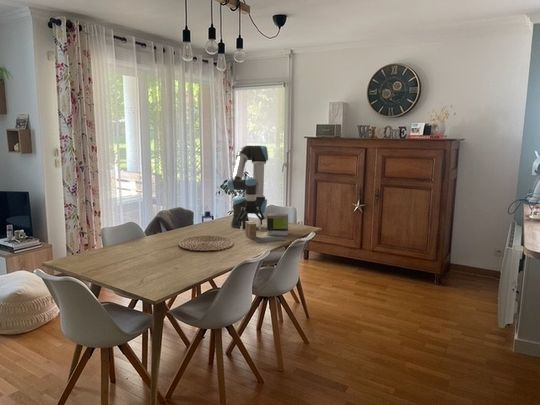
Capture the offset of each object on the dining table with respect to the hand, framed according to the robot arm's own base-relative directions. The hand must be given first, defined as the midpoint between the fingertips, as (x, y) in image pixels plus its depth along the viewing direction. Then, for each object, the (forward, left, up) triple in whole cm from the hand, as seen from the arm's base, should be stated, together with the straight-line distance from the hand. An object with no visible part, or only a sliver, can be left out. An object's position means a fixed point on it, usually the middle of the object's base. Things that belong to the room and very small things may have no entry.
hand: (250, 229), depth 281 cm
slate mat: (+11, +10, -6) cm, 16 cm away
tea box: (-3, +22, -6) cm, 23 cm away
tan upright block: (0, 0, -6) cm, 6 cm away
